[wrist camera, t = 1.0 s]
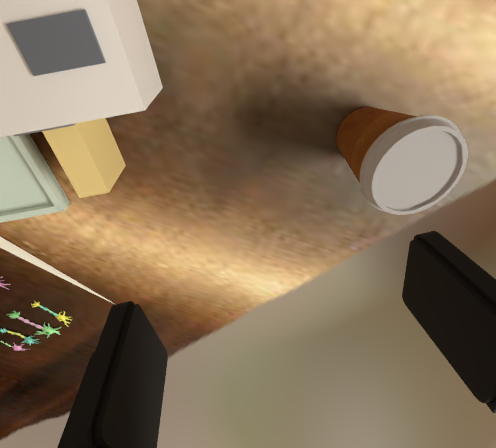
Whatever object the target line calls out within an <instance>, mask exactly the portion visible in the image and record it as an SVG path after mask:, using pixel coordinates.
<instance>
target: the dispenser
mask: <svg viewBox="0 0 496 448" xmlns="http://www.w3.org/2000/svg"><path fill="white" fill-rule="evenodd" d="M162 88H163V87H162V84H161V80H160V77H159V73H158V70H157V67H156V63H155V60H154V57H153V53H152V50H151V47H150V43H149V40H148V36H147V33H146V30H145V26H144V23H143V20H142V16H141V13H140V9H139V6H138V3H137V0H0V137H5V136H10V135H14V137H15V136H20V135H25V134H31V133H36V132H42V131H47V130H52V129H58V128H63V127H68V126H74V125H75V124H76V123H80V122H85V121H91V120H96V119H101V118H107V117H112V116H118V115H123V114H128V113H134V112H139V111H144V110H146V108H147V107H148V106H149V105H150V103H151V102H152V101H153V100H154V98H155V97H156V96H157V94H158V93H159V92H160V91H161V89H162Z"/></svg>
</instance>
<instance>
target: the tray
mask: <svg viewBox="0 0 496 448" xmlns="http://www.w3.org/2000/svg"><path fill="white" fill-rule="evenodd" d="M69 205H70V201H69V200H68V198H67V196H66V195H65V193H64V191H63V190H62V188H61V186H60V184H59V183H58V181H57V179H56V178H55V176H54V174H53V173H52V171H51V169H50V168H49V166H48V164H47V163H46V161H45V159H44V158H43V156H42V154H41V152H40V151H39V149H38V147H37V146H36V144H35V142H34V141H33V139H32V137H31V136H30V134H25V135H20V136H15V137H14V135H10V136H5V137H0V223H1V222H7V221H12V220H17V219H23V218H28V217H34V216H39V215H44V214H50V213H55V212H60V211H65V210H66V208H67V207H68V206H69Z"/></svg>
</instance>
